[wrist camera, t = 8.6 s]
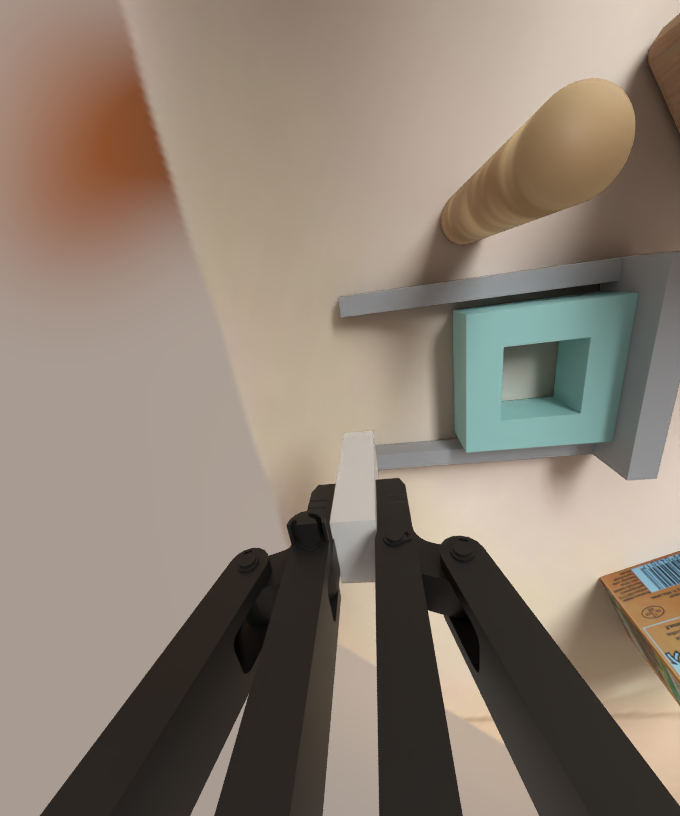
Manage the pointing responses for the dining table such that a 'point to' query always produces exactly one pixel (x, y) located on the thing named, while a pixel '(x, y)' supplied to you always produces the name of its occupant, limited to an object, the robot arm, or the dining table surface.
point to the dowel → (547, 163)
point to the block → (668, 66)
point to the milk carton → (652, 613)
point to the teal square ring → (574, 379)
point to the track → (644, 374)
